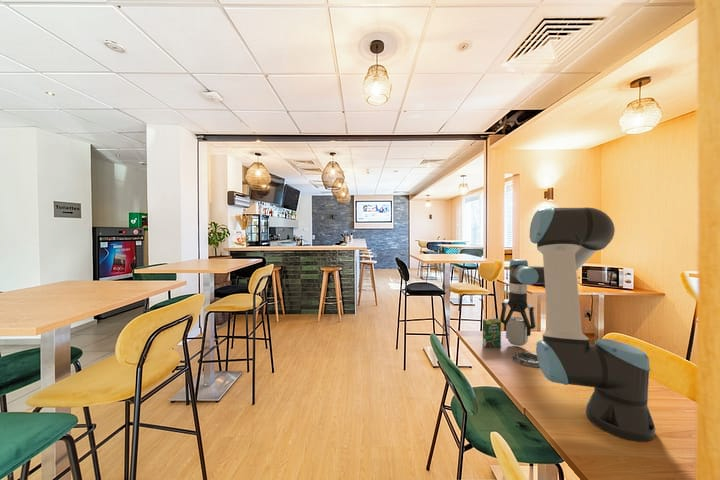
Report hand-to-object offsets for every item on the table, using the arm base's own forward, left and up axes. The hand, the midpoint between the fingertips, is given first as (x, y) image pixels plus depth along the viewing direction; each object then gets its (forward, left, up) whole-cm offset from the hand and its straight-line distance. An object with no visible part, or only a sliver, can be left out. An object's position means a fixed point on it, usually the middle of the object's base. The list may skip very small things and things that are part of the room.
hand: (516, 339), depth 142 cm
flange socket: (-15, -1, -3) cm, 15 cm away
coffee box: (-2, +11, -4) cm, 12 cm away
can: (0, 0, -2) cm, 2 cm away
